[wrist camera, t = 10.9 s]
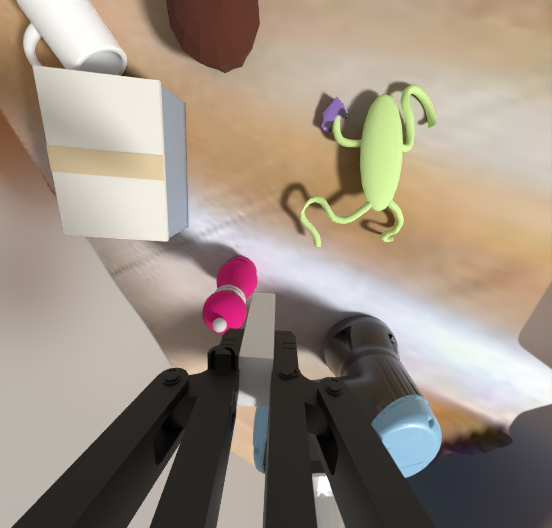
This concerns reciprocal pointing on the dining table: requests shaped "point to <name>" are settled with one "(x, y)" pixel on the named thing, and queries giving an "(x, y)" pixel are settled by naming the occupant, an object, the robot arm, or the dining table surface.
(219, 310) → the pepper mill
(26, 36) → the mug
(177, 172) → the box
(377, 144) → the figurine
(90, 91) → the lid
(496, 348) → the dining table surface
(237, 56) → the muffin
